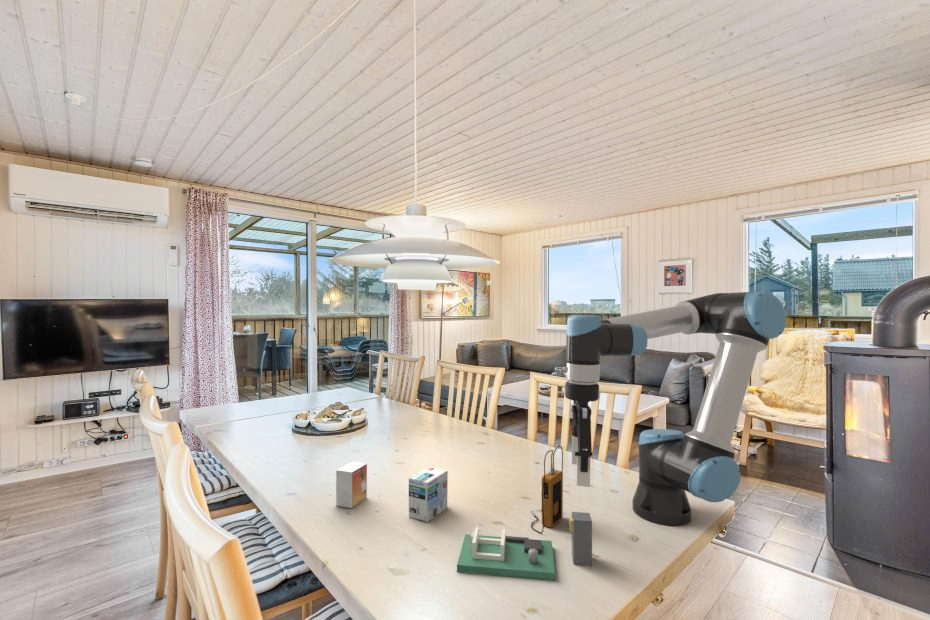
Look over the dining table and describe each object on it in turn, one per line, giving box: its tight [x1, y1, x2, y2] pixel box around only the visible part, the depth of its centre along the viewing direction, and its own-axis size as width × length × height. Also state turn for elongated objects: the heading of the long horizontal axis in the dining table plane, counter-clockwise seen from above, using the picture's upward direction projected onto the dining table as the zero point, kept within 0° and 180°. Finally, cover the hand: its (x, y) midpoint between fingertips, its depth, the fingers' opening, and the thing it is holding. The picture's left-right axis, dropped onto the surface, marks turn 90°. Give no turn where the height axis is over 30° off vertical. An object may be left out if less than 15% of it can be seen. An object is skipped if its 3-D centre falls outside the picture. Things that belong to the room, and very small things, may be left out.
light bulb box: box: [408, 466, 449, 523], centre depth 123 cm, size 11×7×11 cm, turn 151°
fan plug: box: [569, 511, 593, 567], centre depth 100 cm, size 5×4×10 cm
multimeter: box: [529, 445, 564, 534], centre depth 119 cm, size 15×10×20 cm
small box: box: [335, 461, 368, 509], centre depth 130 cm, size 8×6×10 cm
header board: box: [456, 526, 556, 581], centre depth 100 cm, size 21×13×5 cm, turn 82°
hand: (580, 474), depth 100 cm, fingers open, 13 cm apart
